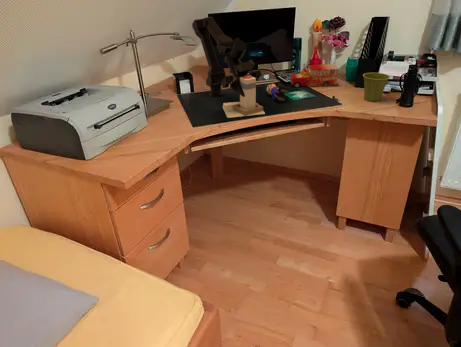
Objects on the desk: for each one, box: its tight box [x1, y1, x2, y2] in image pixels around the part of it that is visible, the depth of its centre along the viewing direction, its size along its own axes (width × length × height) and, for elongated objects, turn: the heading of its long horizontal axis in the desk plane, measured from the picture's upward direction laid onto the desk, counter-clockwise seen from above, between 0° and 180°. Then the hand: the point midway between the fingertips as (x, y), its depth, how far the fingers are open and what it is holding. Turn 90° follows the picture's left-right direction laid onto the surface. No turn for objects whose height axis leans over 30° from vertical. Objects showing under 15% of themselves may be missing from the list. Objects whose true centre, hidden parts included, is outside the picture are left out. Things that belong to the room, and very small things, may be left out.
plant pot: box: [362, 72, 391, 102], centre depth 166 cm, size 12×12×11 cm
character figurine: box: [266, 81, 288, 102], centre depth 173 cm, size 8×7×15 cm
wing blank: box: [222, 101, 240, 110], centre depth 164 cm, size 3×8×2 cm, turn 100°
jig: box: [222, 102, 266, 119], centre depth 160 cm, size 15×17×3 cm
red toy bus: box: [289, 63, 339, 88], centre depth 190 cm, size 11×25×10 cm, turn 89°
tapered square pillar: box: [239, 74, 257, 110], centre depth 155 cm, size 5×5×15 cm
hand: (249, 95), depth 155 cm, fingers closed on tapered square pillar, 5 cm apart
